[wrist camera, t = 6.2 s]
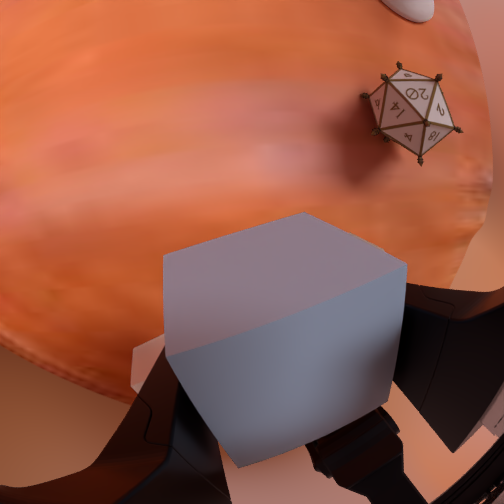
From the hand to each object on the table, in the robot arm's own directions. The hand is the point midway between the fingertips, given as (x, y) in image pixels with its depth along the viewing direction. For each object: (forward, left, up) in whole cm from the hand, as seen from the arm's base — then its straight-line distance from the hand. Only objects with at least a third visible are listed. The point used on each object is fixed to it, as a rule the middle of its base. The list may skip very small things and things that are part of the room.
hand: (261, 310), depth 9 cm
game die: (+6, -18, -13) cm, 23 cm away
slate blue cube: (0, 0, -1) cm, 1 cm away
